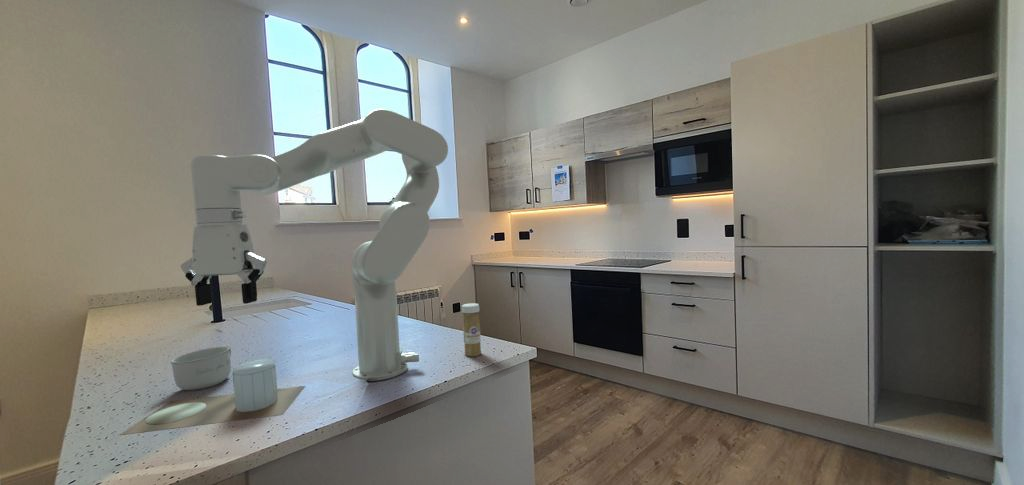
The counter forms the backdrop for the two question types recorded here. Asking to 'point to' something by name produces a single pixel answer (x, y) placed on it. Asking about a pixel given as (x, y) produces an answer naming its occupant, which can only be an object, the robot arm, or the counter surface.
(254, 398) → the blue cup
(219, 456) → the counter surface
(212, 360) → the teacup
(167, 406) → the brown board
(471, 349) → the sprinkles bottle
